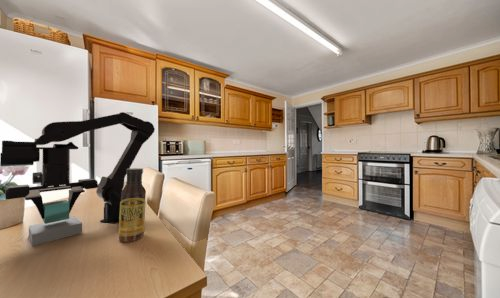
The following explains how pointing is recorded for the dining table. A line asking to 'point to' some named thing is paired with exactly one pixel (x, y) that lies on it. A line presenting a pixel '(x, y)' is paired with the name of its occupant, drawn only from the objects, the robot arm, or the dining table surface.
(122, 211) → the sauce bottle
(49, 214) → the teal cube
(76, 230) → the gray plinth
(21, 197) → the robot arm
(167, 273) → the dining table surface
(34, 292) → the dining table surface
